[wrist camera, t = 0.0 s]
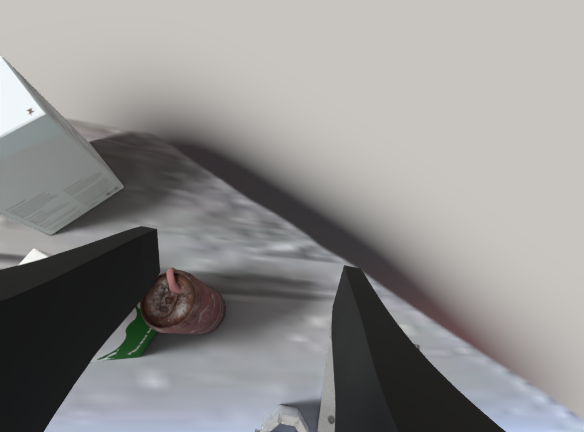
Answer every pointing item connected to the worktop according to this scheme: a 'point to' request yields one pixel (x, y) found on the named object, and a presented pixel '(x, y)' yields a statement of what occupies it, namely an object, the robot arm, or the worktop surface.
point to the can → (182, 305)
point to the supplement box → (45, 160)
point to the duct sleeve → (283, 419)
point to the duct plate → (328, 395)
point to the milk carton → (127, 336)
